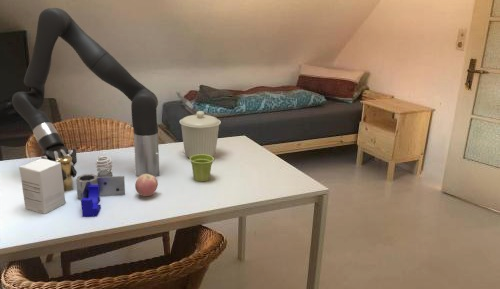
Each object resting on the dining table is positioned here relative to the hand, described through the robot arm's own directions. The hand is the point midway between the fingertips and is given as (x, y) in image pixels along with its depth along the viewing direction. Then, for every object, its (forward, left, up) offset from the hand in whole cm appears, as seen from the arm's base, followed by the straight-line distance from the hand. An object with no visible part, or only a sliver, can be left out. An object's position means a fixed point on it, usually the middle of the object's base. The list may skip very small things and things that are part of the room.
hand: (70, 177), depth 154 cm
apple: (-27, +7, -5) cm, 28 cm away
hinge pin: (+1, -2, -5) cm, 6 cm away
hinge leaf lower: (-7, +10, -5) cm, 13 cm away
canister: (-50, -32, -5) cm, 59 cm away
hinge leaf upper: (-11, +5, -5) cm, 13 cm away
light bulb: (-12, -3, -5) cm, 13 cm away
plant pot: (-48, -6, -5) cm, 48 cm away
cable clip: (-10, +15, -6) cm, 19 cm away
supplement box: (+6, +12, -5) cm, 14 cm away
